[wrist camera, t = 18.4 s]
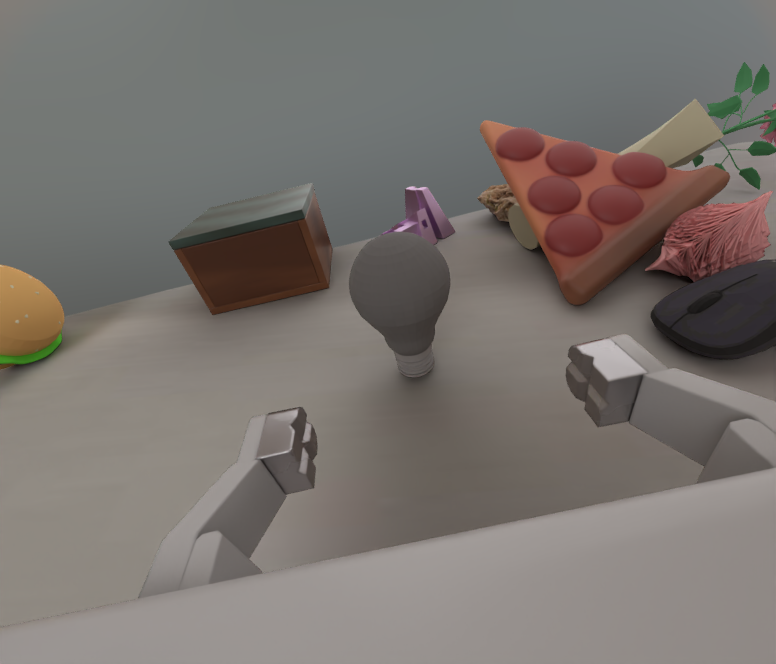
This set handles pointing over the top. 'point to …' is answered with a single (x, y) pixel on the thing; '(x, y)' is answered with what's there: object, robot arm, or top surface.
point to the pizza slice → (594, 202)
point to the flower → (715, 239)
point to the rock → (498, 200)
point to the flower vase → (689, 141)
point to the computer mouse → (723, 312)
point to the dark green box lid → (246, 216)
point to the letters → (423, 216)
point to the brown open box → (261, 263)
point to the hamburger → (27, 318)
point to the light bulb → (402, 295)
